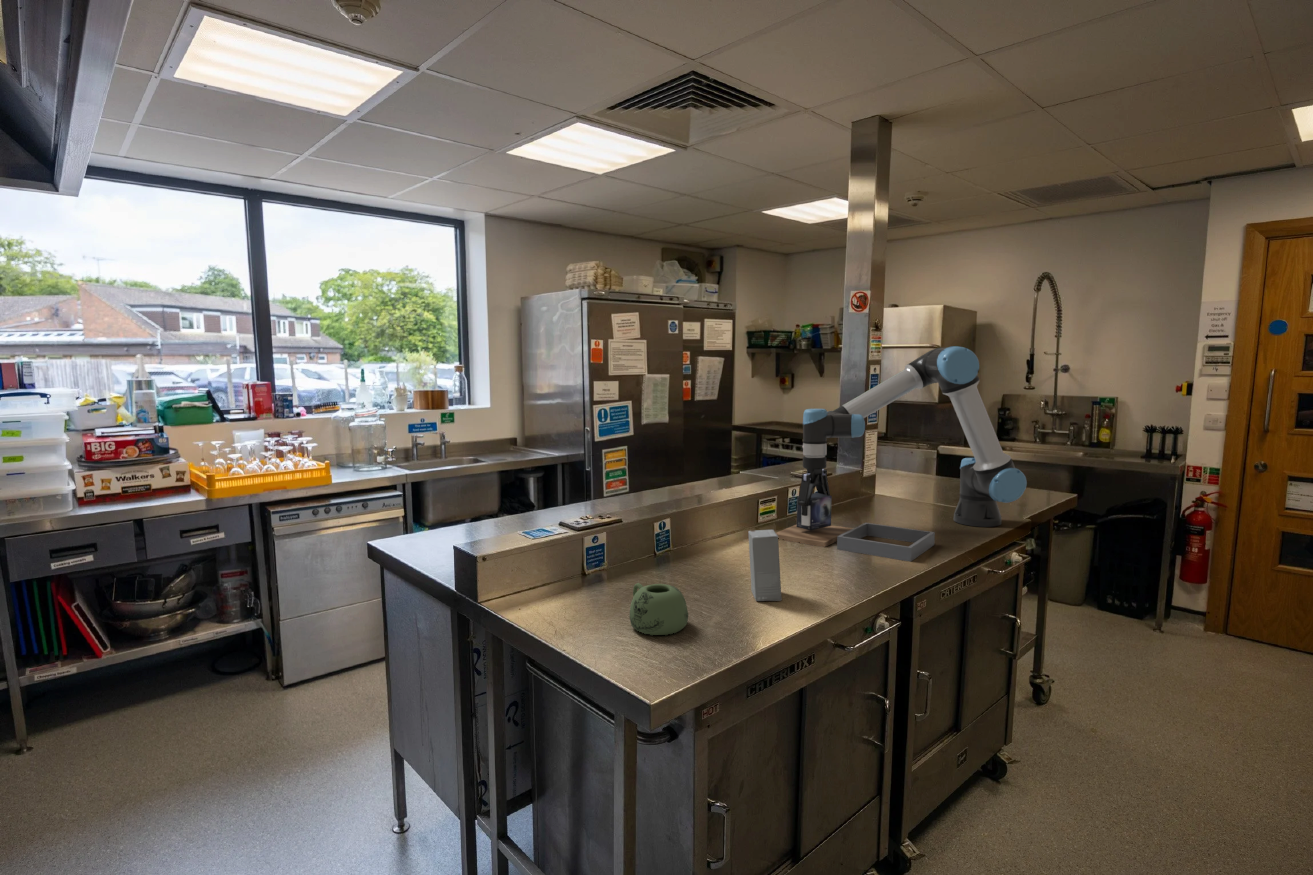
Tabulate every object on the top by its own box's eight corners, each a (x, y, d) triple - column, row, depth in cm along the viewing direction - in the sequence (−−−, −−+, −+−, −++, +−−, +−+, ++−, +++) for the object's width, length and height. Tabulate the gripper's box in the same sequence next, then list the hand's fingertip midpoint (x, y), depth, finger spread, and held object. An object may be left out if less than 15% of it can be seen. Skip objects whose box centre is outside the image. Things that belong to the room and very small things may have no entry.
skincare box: (782, 601, 155) (782, 536, 153) (751, 602, 155) (751, 537, 153) (776, 589, 163) (776, 528, 161) (747, 590, 163) (747, 528, 162)
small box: (811, 531, 209) (811, 499, 208) (795, 527, 214) (795, 496, 213) (832, 526, 215) (832, 494, 214) (816, 522, 221) (817, 492, 219)
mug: (701, 628, 140) (700, 589, 139) (652, 644, 132) (651, 603, 131) (657, 607, 152) (656, 571, 152) (610, 620, 145) (609, 583, 144)
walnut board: (804, 525, 229) (804, 521, 229) (853, 532, 218) (853, 528, 218) (773, 538, 212) (773, 533, 212) (824, 547, 201) (824, 542, 201)
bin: (865, 534, 215) (865, 522, 215) (934, 544, 201) (934, 532, 201) (837, 549, 198) (837, 536, 198) (910, 561, 185) (910, 547, 184)
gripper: (819, 451, 224) (819, 513, 226) (786, 459, 206) (786, 527, 208) (840, 452, 219) (839, 516, 221) (808, 461, 201) (808, 530, 203)
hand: (814, 521), depth 215 cm, fingers closed on small box, 11 cm apart
